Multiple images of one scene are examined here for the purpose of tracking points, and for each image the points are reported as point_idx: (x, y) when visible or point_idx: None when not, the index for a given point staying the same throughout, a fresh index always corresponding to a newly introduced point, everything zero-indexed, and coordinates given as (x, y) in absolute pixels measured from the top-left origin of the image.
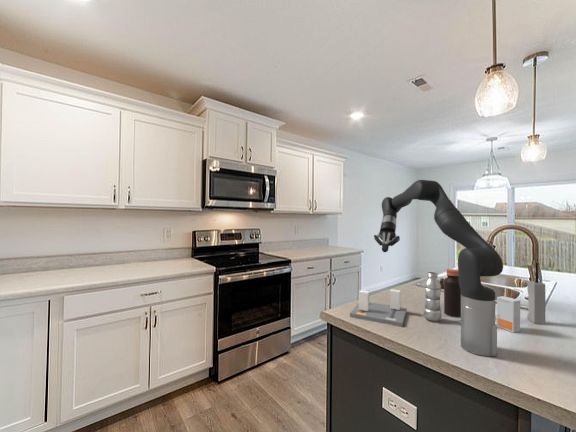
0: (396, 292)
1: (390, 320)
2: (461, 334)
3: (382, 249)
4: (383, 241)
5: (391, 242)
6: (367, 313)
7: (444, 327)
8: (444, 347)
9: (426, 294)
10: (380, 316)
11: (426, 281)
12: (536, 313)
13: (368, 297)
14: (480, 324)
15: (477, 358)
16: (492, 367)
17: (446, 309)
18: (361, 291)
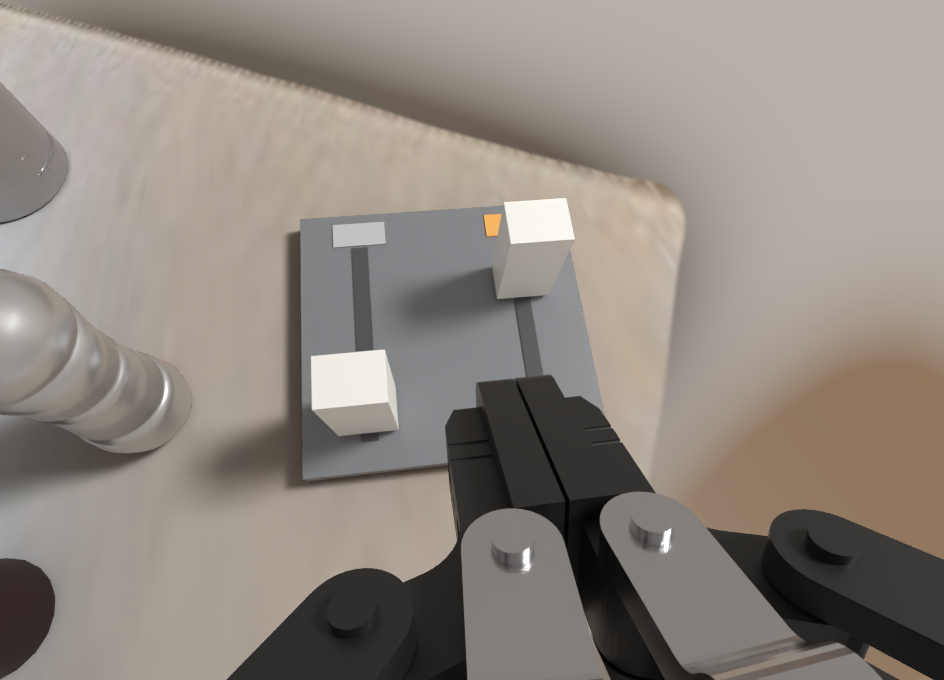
0: (336, 356)
1: (357, 220)
2: (32, 125)
3: (569, 404)
4: (703, 582)
5: (340, 600)
6: (485, 246)
7: None
8: (136, 131)
9: (95, 328)
10: (414, 242)
11: (16, 290)
12: None
13: (502, 236)
14: None
15: (34, 109)
16: (4, 77)
17: (18, 577)
18: (555, 213)
